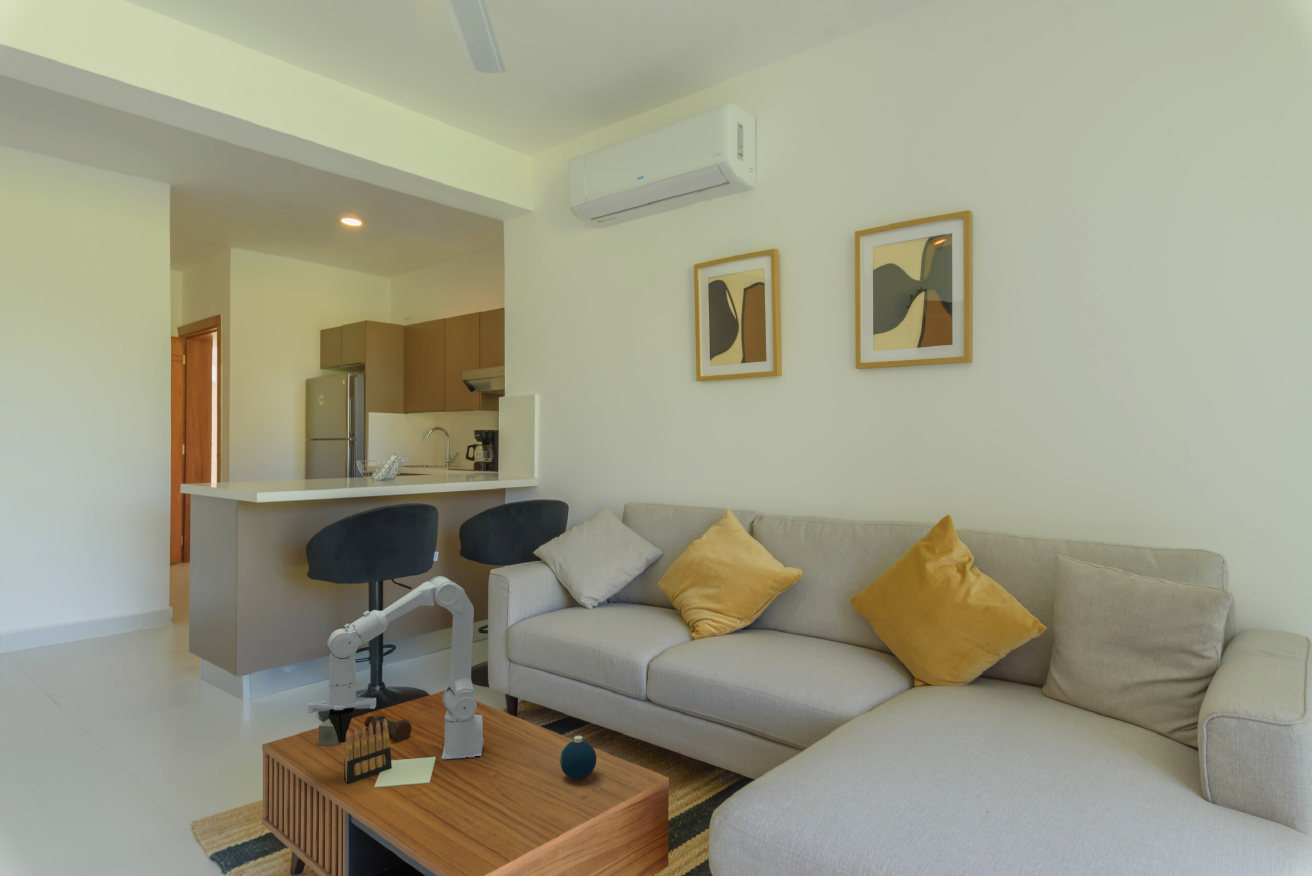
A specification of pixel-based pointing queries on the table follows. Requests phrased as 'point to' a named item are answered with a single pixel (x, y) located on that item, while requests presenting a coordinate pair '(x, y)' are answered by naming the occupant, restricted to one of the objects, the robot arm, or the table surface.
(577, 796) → the table surface
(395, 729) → the bolt
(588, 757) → the christmas ornament
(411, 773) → the mat
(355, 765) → the ammunition clip
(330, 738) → the dice cube
